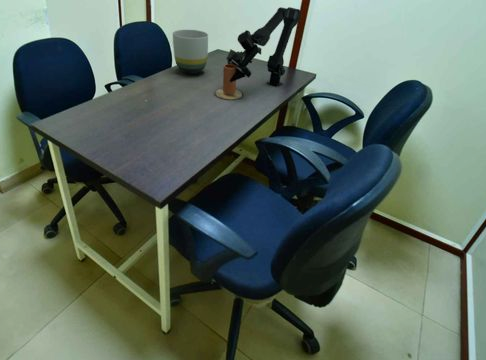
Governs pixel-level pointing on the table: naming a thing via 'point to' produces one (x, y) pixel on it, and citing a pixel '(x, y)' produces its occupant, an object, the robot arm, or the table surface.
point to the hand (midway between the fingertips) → (227, 79)
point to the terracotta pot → (227, 75)
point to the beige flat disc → (228, 95)
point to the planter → (190, 50)
